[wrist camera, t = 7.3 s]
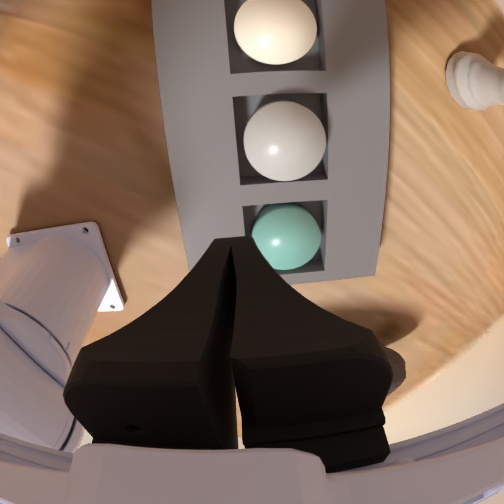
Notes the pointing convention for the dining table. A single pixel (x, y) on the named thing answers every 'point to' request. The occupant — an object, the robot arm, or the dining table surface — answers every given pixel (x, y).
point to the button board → (265, 91)
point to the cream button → (275, 30)
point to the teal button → (286, 235)
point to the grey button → (284, 140)
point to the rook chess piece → (474, 81)
